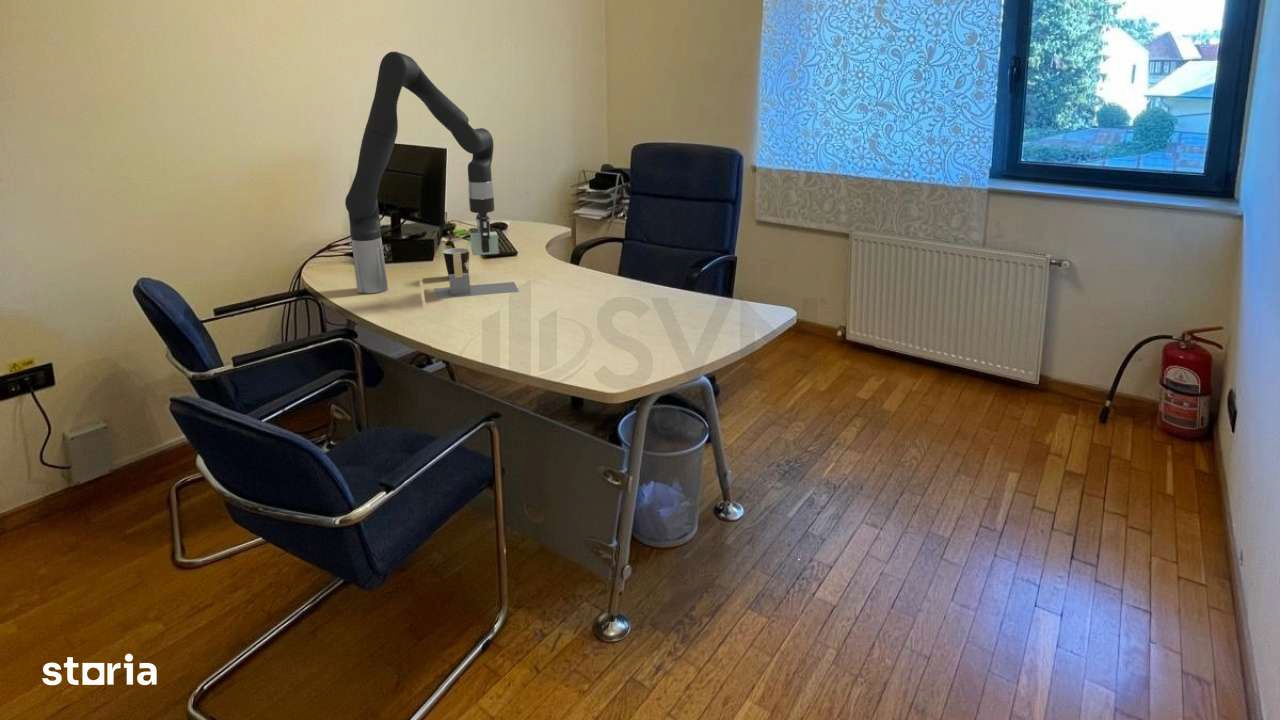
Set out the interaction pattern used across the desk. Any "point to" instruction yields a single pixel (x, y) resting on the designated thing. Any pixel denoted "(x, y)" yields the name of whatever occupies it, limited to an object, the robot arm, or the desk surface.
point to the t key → (457, 264)
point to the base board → (472, 288)
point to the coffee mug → (450, 264)
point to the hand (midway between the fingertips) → (484, 249)
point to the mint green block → (477, 244)
